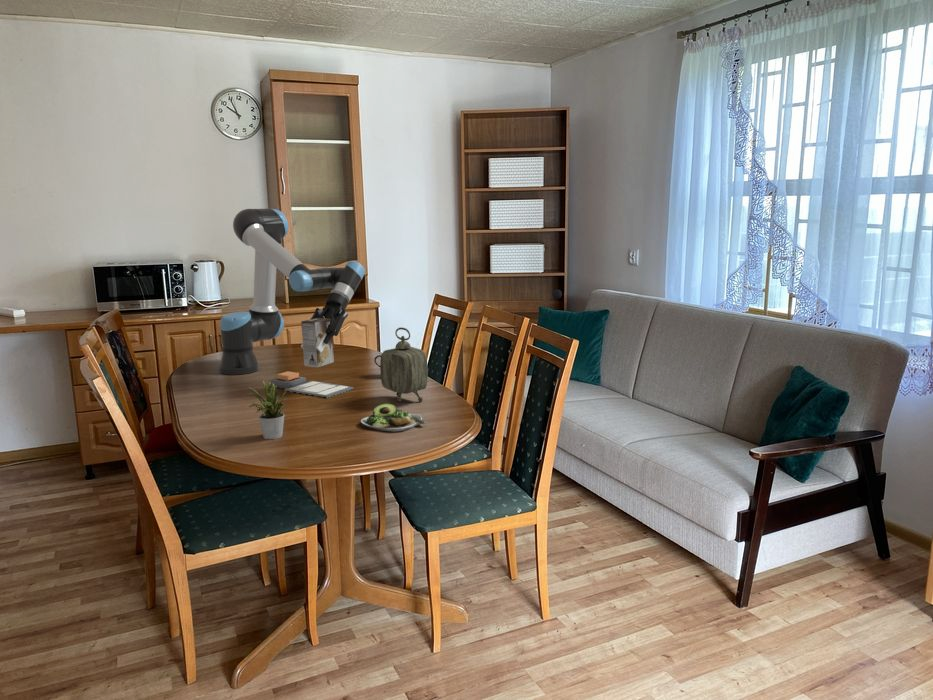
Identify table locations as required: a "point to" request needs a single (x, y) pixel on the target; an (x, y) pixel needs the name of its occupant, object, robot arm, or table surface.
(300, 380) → the button housing
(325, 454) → the table surface
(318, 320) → the coffee box
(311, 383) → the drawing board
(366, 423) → the salad plate
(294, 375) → the button
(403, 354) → the tabletop clock
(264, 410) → the house plant
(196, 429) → the table surface
